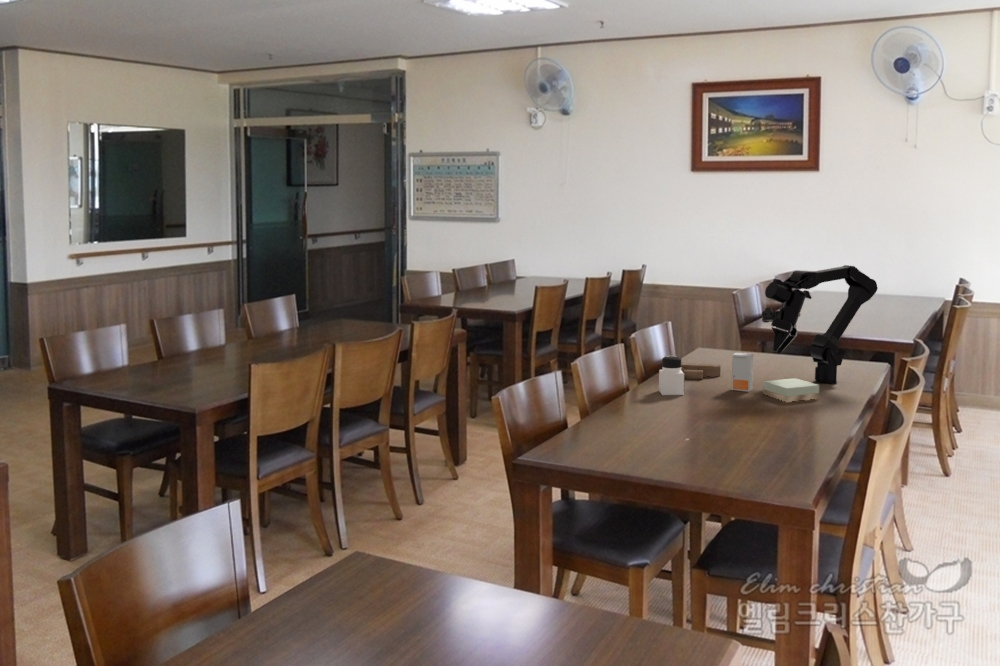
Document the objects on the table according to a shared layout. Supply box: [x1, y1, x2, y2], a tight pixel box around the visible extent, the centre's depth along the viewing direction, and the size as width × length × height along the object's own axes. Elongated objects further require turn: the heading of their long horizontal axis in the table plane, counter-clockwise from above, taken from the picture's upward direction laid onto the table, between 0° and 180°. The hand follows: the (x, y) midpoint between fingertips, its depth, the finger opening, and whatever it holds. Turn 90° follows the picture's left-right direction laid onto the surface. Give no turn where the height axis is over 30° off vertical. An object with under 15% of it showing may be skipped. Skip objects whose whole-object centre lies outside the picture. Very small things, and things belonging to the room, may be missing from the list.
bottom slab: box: [763, 389, 820, 403], centre depth 298 cm, size 12×12×2 cm
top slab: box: [762, 377, 820, 396], centre depth 297 cm, size 12×12×2 cm
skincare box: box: [730, 352, 754, 393], centre depth 307 cm, size 6×4×12 cm
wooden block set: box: [681, 362, 721, 380], centre depth 326 cm, size 17×6×18 cm
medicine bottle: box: [658, 355, 685, 396], centre depth 304 cm, size 7×7×12 cm
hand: (776, 352), depth 310 cm, fingers open, 9 cm apart
